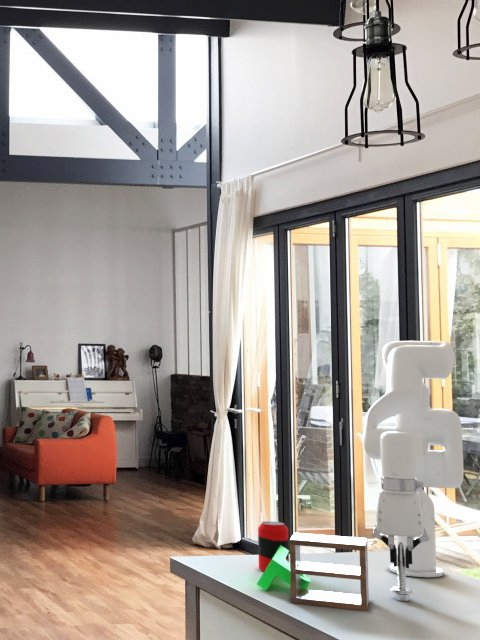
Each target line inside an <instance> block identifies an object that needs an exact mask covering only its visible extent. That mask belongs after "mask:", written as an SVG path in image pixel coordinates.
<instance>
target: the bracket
mask: <svg viewBox="0 0 480 640" xmlns="http://www.w3.org/2000/svg"><path fill="white" fill-rule="evenodd" d="M288 553H289V554H290V549H289V550H287V549H286V548H284V547H283V546H281V545H280V547H279V549H278V550H277V552H276V553H275V555H274V557H273V558H272V560H271V562H270V563H269V565H268V567H267V568H266V570H265V572H264V571H263V573H262V575H261V576H260V578H259V580H258V581H257V583H256V585H257V586H259V587H260V588H261V589H263V590H264V591H268V588H269V587H270V585H271V583H272V582H273V580H274V579H275V577H277V578H279V579H280V580H282V581H283V582H285V583H286V584H287V585H288V586H291V579H290V561H289V562H288V561H287V560H286V559H285V558H286V556H287V555H288ZM311 582H312V580H311V578H310V577H309V575H304V574H301V589H306V590H308V589H307V588H308V587H309V585H310V584H311Z"/></svg>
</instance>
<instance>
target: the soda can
mask: <svg viewBox="0 0 480 640" xmlns="http://www.w3.org/2000/svg"><path fill="white" fill-rule="evenodd" d="M257 538H258V539H257V540H258V541H257V543H258V550H257V551H258V569H259V570H260V571H262V572H263V573H264V572H265V570H266V568H267V567H268V565H269V563H270V562H271V560H272V558H273V557H274V555H275V553H276V552H277V550H278V549H279V547H280V545H281V546H283V547H284V548H286V549H287V550H289V551H290V540H289V528H288V527H287V526H286V525H285V523H284V522H281V521H272V520H271V521H268V520H267V521H262V522H261V523H260V524H259V526H258V528H257ZM285 559H286V560H287V561H288V562H289V563H290V552H289V553H288V555H287V556H286V558H285Z"/></svg>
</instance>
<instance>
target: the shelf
mask: <svg viewBox="0 0 480 640" xmlns="http://www.w3.org/2000/svg"><path fill="white" fill-rule="evenodd" d="M301 547H313V548H323V549H324V548H325V549H336V550H347V551H348V550H349V551H358V552H359V566H358V565H357V566H355V565H347V564H346V565H345V564H334V563H324V562H323V563H322V562H311V561H301ZM368 553H369V552H368V538H367V537H356V536H341V535H327V534H318V533H317V534H315V533H306V532H305V533H301V532H294V533H293V534H292V535H291V537H290V539H289V563H290V579H291V585H290V603H291V604H296V605H297V604H298V605H307V606H318V607H325V608H326V607H329V608H336V609H346V610H353V611H354V610H355V611H363V612H364V611H365V612H368V608H369V602H370V595H369V594H370V593H369V588H370V587H369V560H368V559H369V555H368ZM301 574H304V575H307V576H314V577H326V578H327V577H328V578H335V579H336V578H337V579H348V580H358V581H359V583H360V594H355V593H345V592H335V591H324V590H314V589H301Z"/></svg>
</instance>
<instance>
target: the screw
mask: <svg viewBox="0 0 480 640" xmlns="http://www.w3.org/2000/svg"><path fill="white" fill-rule="evenodd" d="M397 553H398V555H397V556H398V560H397V561H398V563H397V564H398V565H397V566H398V568H397V569H398V573H396V574H397V582H398V583H397V585H398V586H393V587H392V588H390V592H391V593H394V594H395V600H397V601H400V602H408V601H410V595H413V594H414V593H415V591H414V590H413V589H412V588H409V587H407V580H406V579H407V576H406V575H405V574H406V572H405V571H406V570H405V568H406V567H405V566H406V565H405V563H406V562H405V556H404V555H405V554H404V547H403V543H402V542H400V543H399V544H398V552H397Z"/></svg>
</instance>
